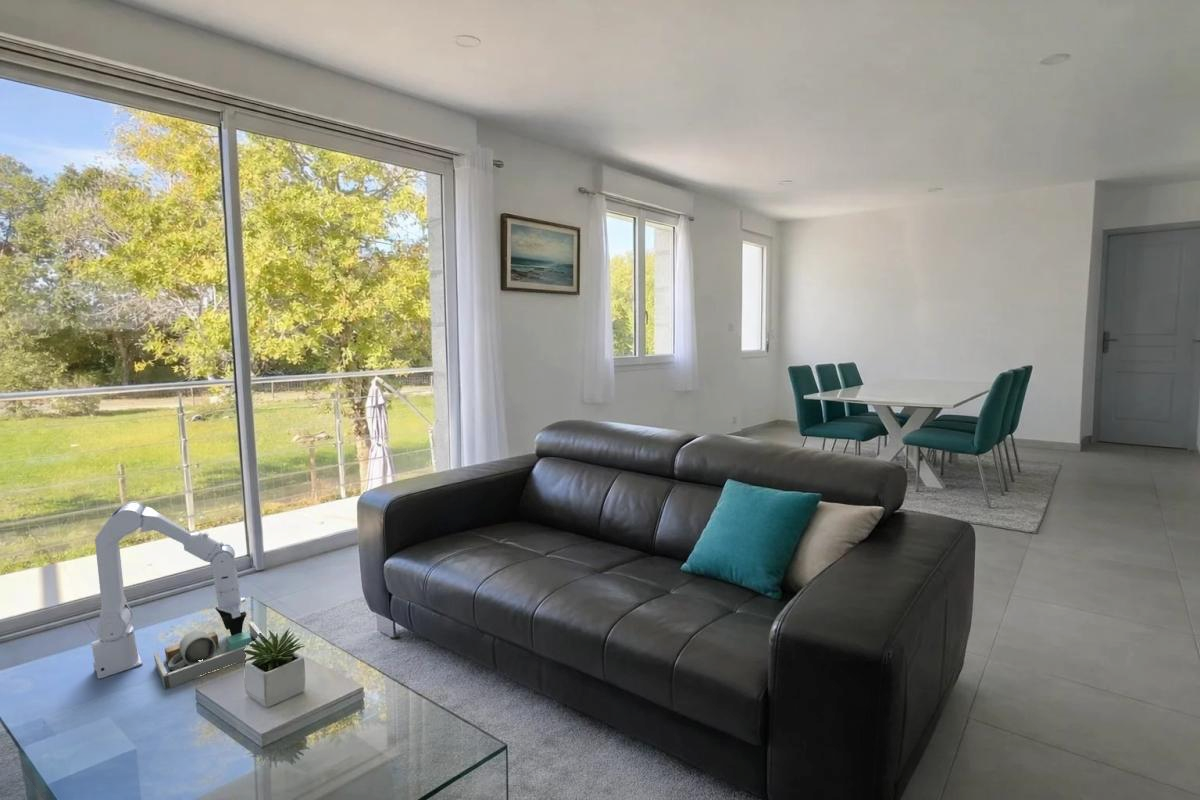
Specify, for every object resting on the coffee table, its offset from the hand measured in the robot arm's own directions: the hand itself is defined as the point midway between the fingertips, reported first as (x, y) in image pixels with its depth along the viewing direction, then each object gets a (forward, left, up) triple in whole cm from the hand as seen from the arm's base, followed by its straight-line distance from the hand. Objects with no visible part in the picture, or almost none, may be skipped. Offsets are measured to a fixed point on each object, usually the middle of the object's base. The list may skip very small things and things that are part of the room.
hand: (233, 632), depth 185 cm
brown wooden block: (-10, 0, -2) cm, 10 cm away
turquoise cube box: (0, -7, -2) cm, 7 cm away
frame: (-7, -8, -2) cm, 11 cm away
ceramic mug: (-11, -6, -2) cm, 13 cm away
